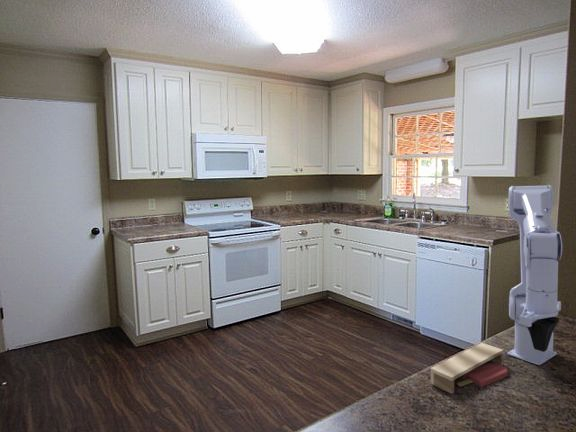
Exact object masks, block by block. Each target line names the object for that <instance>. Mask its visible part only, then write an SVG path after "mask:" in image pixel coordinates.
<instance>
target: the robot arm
mask: <svg viewBox="0 0 576 432" xmlns="http://www.w3.org/2000/svg"><path fill="white" fill-rule="evenodd" d="M554 198H555V192H554V188H553V186H552V185H551V184H547V185H519V186H517V185H516V186H514V185H511V186H509V188H508V198H507V199H508V202H507V203H508V214H509V219H511V220H513V221H515V222H517V226H518V229H519V246H520V247H519V248H520V255H519V256H520V283H519V284H517V285H515V286H513V287H511V288H510V291H509V297H508V316H509V318H510V319H511V320H512V321H514V348H512V349H511V350H510V351H508V352H507V353H506V354H507V355H508V356H511V357H514V358H517V359H520V360H522V361H526V362H528V363H531V364H534V365H537V366H540V365H542V364H544V363H546V362H547V361H549V360H550V359H552V358H553V357H555V356H557V354H558V353H557V351H554V331H555V329H556V327H557V325H558V324H559V323H560V318H559V317H557V316H558V315H559V312H560V311H562V302H561V301H558V290H559V289H558V285H559V261H561V259H562V254H563V241H562V236H561V233H560V231H558V230H555V227H554V221H553V219H552V217H551V214H552V210H553V207H554V202H555V199H554Z"/></svg>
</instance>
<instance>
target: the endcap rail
mask: <svg viewBox="0 0 576 432" xmlns="http://www.w3.org/2000/svg"><path fill="white" fill-rule="evenodd" d="M488 362H491V363H493V364H499V365H502V366H504V349H502V348H499V347H497V346H493V345H490V344H487V343H484V342H480V343H478V344H476V345H475V346H472V347H470V348H469V349H466V350H464V351H463V352H461V353H459V354H455V355H454V356H452V357H450V358H449V359H446V360H444V361H441V362H440V363H438V364H436V365H434V366H432V367H430V384H431V385H433V386H434V387H436V388H439V389H441V390H442V391H445V392H448V393H449V394H451V395H453V394H454V393H455V380H456V379H458V378H460V377H462V375H464V374H465V373H467V372H469V371H471V370H473V369H475V368H477V367H480V366H483V365H485V363H488Z"/></svg>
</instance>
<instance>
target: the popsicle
mask: <svg viewBox="0 0 576 432" xmlns="http://www.w3.org/2000/svg"><path fill="white" fill-rule="evenodd" d="M508 375H509V371H508V368H507V367H506V366H504V365H499V364H496V363H494V362H491V363H487V364H482V365H480V366H478V367H476V368H475V369H473V370H471V371H469V372H467V373H465V374H464V375H462V376H461V377H462V378H463V379H465V380H462V381H459V382H457V383H456V386H458V387H463V386H466V385H468V384H471V383H473V384H475V385H476V386H479V387H481V388H482V387H485V386H487V385H491V384H492V383H495V382H497V381H500V380H502V379H504V378H506V377H507V376H508Z"/></svg>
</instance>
